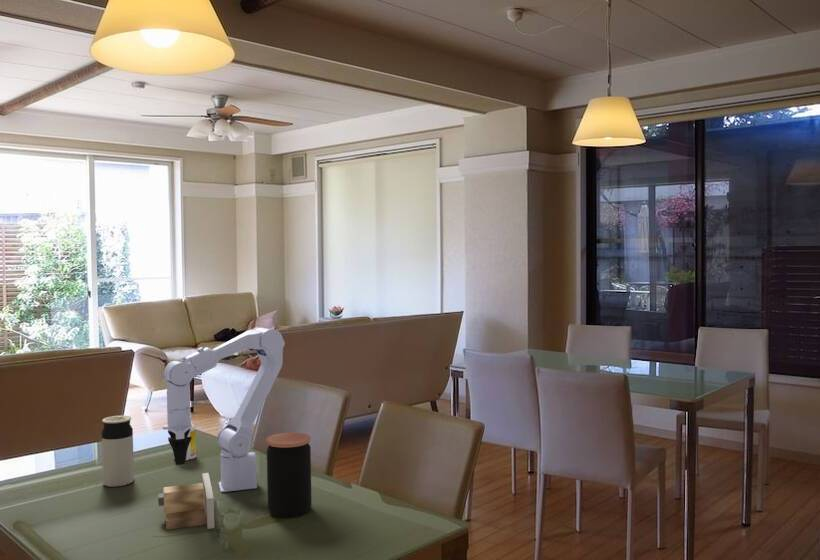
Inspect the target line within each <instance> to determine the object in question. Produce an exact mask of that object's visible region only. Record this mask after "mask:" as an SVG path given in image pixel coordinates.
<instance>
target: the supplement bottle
mask: <svg viewBox="0 0 820 560" xmlns="http://www.w3.org/2000/svg"><path fill="white" fill-rule="evenodd" d="M191 421H192V416H191ZM191 424H192V427H191V428H190V432H189V434H188V437H192V439H191V441H190V443H189V446H188V449H187V455H186V461H189V459H191V460H193V459H195V458H196V457H197V456H196V455H197V443H196V442H197V440H196V439H197V437H196V425H195V424H193V423H191ZM173 455H174V453H173ZM173 459H174V460H175V458H174V457H173Z"/></svg>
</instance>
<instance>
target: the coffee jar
mask: <svg viewBox="0 0 820 560" xmlns="http://www.w3.org/2000/svg"><path fill="white" fill-rule="evenodd" d="M310 442H311V435H310V434H308V433H307V434H306V433H303V432H282V433H276V434H273V435H270V436H268V437H266V444H267V445H268V446H267V449H266V480H267V481H266V484H267V489H266V490H267V509H268V511H269V513H270V514H271V515H272V516H275V517H278V518H287V519H288V518H296V517H299V516H303V515H305V514H307V513H309V511H310V509H311V507H312V457H311V456H312V455H311V453H312V452H311V451H312V450H311V449H312V448H311V445H310Z"/></svg>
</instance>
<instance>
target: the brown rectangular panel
mask: <svg viewBox="0 0 820 560" xmlns="http://www.w3.org/2000/svg"><path fill="white" fill-rule="evenodd" d="M203 525H204V526H206V525H207V514H206V508H205V502H204V509H201V510H193V511H185V512H177V513H169V514H165V527H166V528H165V530H166V531H167V530H173V529H182V528H189V527H197V526H203Z"/></svg>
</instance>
